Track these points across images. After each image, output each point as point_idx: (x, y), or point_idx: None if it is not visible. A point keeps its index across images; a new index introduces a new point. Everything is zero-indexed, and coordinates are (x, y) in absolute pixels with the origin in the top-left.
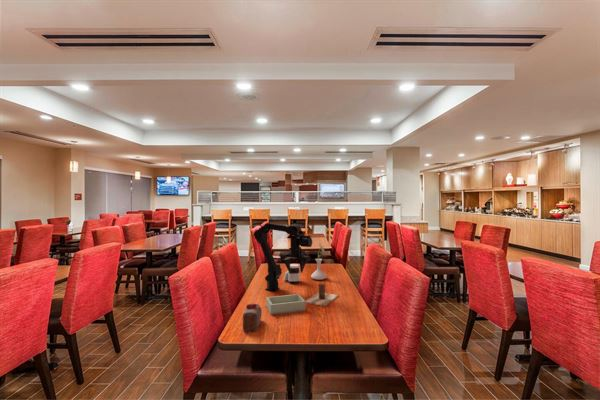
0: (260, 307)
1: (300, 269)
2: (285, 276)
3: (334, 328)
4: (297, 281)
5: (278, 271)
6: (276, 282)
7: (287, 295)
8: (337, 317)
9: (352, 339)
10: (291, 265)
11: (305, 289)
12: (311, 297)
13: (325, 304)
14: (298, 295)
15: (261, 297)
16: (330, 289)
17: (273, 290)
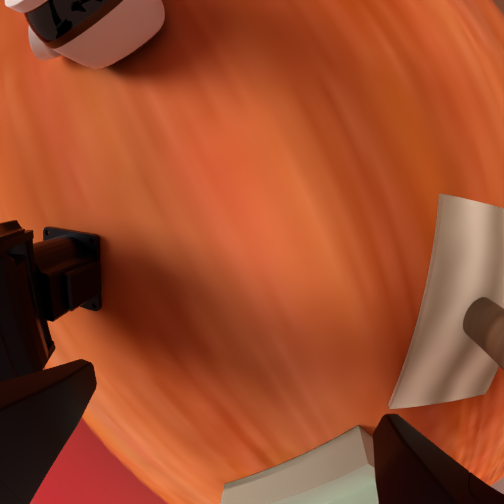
0: None
1: (381, 500)
2: (46, 51)
3: (476, 476)
4: (156, 33)
5: (9, 355)
6: (63, 292)
7: (307, 493)
8: (499, 435)
9: (495, 479)
10: None
11: (301, 142)
12: (421, 340)
13: (486, 388)
14: (371, 475)
15: (121, 409)
16: (468, 87)
17: (94, 302)
